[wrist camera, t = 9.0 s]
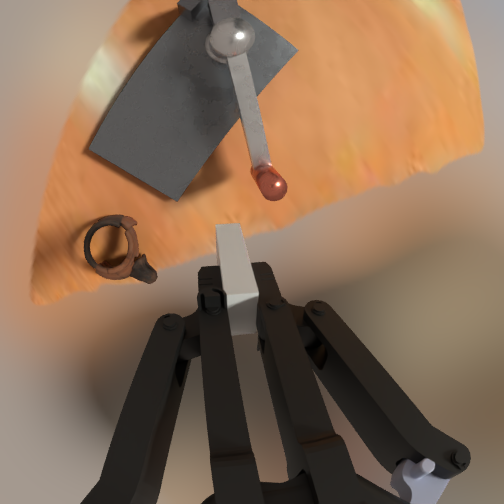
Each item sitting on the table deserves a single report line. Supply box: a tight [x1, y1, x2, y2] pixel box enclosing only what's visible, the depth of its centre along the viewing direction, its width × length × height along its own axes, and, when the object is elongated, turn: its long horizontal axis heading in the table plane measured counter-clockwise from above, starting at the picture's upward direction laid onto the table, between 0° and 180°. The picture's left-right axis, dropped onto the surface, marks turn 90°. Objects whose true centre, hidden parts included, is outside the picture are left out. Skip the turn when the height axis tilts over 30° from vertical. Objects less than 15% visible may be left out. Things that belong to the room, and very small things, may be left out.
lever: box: [207, 0, 287, 201], centre depth 26 cm, size 22×4×9 cm, turn 12°
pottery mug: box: [84, 215, 157, 284], centre depth 39 cm, size 12×9×8 cm
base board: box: [89, 0, 298, 201], centre depth 28 cm, size 25×14×7 cm, turn 141°
